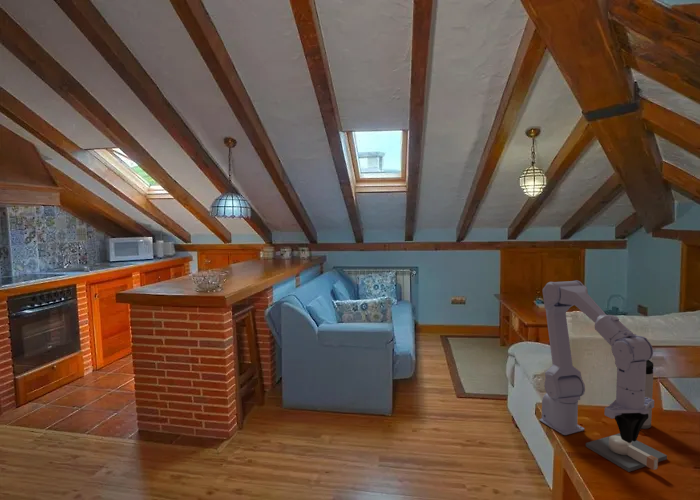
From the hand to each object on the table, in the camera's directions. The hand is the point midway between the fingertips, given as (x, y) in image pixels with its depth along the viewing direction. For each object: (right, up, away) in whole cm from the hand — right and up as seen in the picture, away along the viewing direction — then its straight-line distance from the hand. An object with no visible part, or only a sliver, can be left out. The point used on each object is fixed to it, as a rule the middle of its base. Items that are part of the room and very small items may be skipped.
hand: (628, 439), depth 99 cm
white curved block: (+4, -7, +5) cm, 9 cm away
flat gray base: (+5, -8, +9) cm, 13 cm away
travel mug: (+19, -6, +23) cm, 31 cm away
